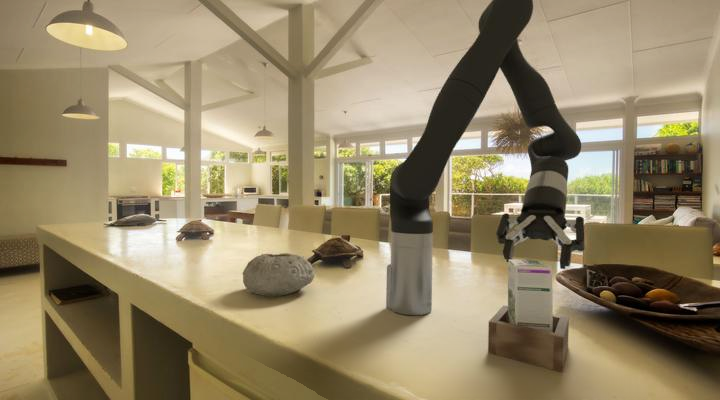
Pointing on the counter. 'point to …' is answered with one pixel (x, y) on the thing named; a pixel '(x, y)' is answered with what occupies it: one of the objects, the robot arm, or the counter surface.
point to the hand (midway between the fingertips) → (534, 262)
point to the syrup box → (530, 294)
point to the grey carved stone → (277, 274)
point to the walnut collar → (529, 341)
